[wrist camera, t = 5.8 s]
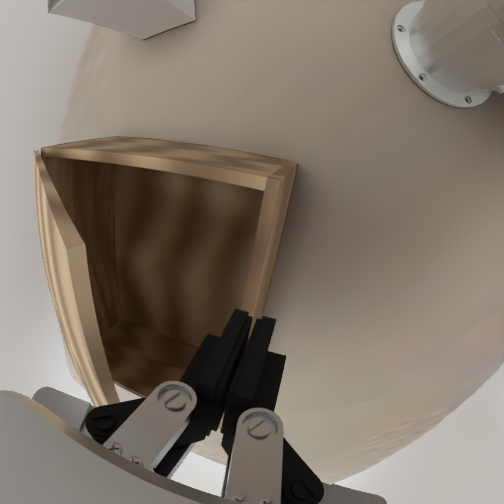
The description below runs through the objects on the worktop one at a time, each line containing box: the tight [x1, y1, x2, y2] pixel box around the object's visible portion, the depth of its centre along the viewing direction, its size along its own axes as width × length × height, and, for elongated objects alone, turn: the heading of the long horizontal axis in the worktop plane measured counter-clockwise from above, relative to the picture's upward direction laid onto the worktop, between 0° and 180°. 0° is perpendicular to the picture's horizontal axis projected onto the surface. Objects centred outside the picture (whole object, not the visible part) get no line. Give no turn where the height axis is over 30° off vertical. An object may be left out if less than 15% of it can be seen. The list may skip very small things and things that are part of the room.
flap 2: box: [48, 284, 100, 407], centre depth 21 cm, size 22×14×1 cm
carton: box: [41, 136, 298, 429], centre depth 28 cm, size 22×28×12 cm
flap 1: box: [34, 151, 120, 406], centre depth 15 cm, size 22×14×1 cm
